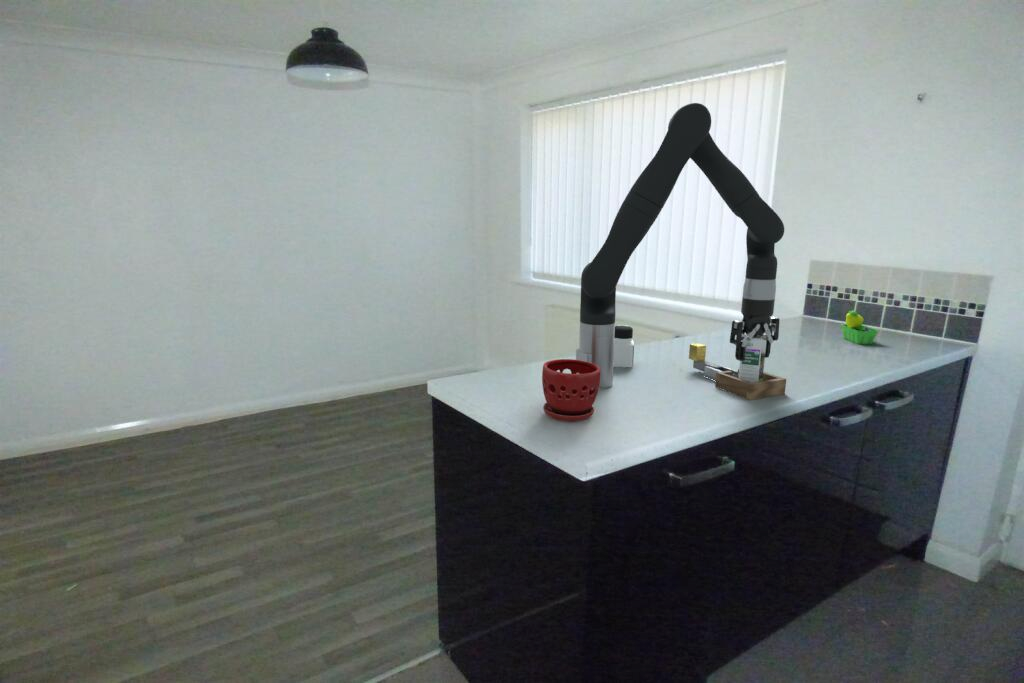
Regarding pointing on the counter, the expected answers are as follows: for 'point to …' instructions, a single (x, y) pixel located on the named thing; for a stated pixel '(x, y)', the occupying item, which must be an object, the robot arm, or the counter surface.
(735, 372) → the pin guide
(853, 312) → the fruit basket
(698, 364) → the lock pin
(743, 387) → the wooden tray
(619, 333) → the medicine bottle
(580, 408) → the plant pot
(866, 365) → the counter surface
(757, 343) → the syrup box
